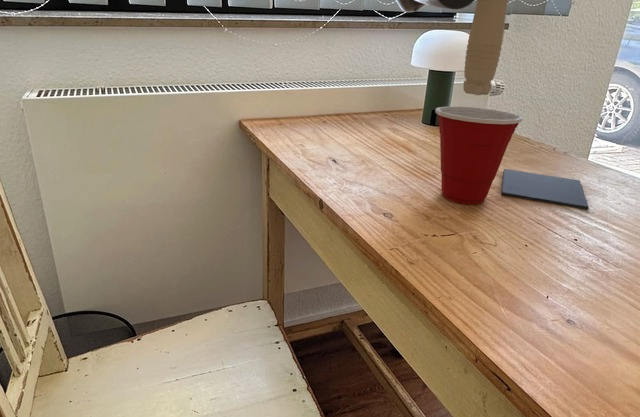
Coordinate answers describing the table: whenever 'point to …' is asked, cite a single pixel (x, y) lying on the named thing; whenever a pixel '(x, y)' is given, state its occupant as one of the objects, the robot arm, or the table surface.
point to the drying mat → (543, 188)
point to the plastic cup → (472, 150)
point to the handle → (484, 46)
